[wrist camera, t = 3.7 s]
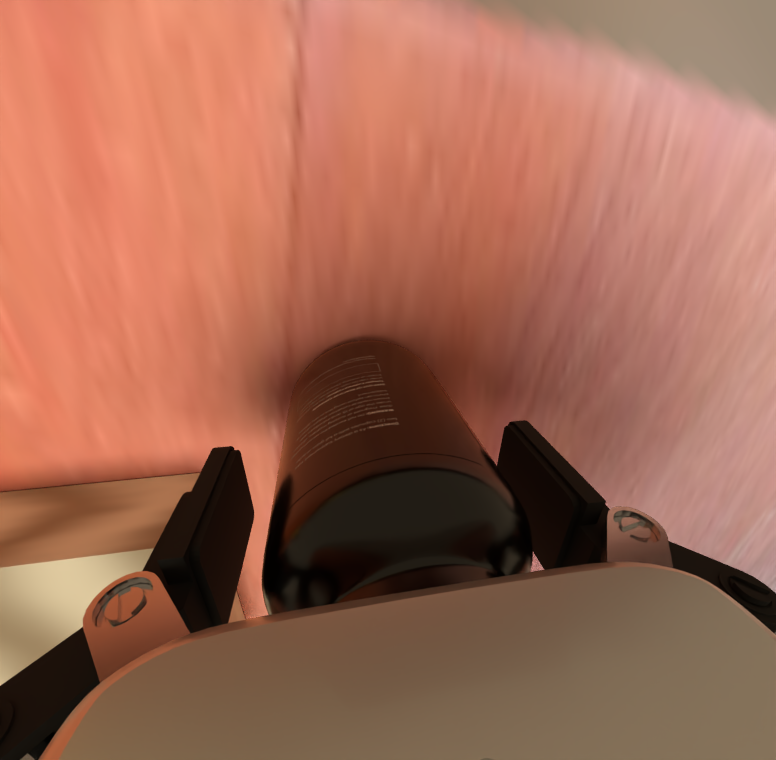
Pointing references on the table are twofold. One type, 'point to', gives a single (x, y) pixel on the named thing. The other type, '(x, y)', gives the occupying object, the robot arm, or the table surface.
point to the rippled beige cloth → (74, 555)
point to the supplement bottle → (383, 487)
